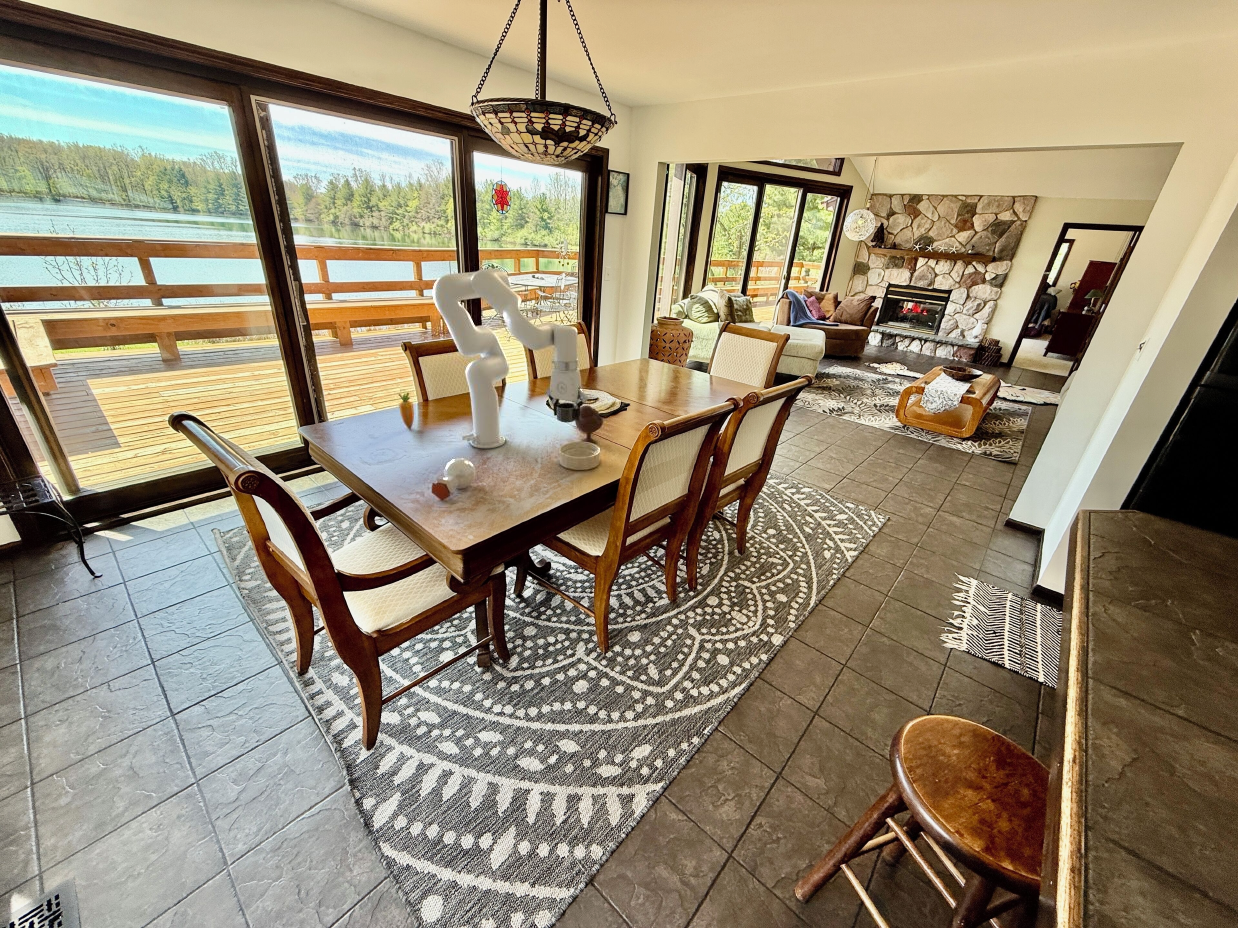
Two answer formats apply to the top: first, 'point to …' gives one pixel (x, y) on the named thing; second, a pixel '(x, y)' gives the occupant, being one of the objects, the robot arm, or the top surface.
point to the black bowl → (565, 412)
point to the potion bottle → (454, 478)
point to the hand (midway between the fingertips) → (566, 416)
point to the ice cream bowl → (589, 422)
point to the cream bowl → (579, 455)
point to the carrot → (406, 410)
